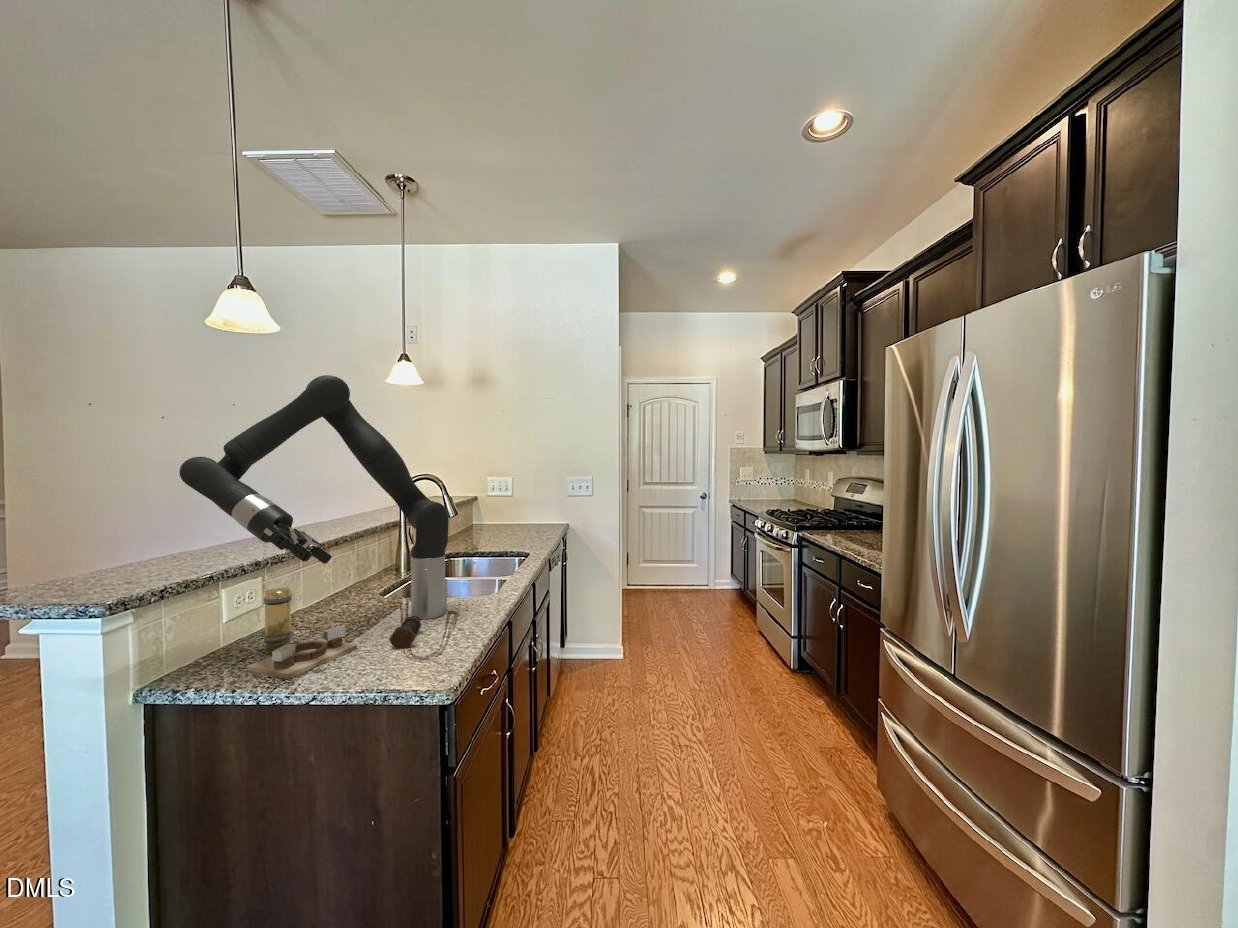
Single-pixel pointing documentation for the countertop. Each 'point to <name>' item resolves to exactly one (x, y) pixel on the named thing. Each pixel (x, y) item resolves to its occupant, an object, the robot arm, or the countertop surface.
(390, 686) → the countertop surface
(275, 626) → the cylinder
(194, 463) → the robot arm
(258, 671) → the coupling base
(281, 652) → the pair of grey blocks
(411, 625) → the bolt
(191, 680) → the countertop surface
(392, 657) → the countertop surface
